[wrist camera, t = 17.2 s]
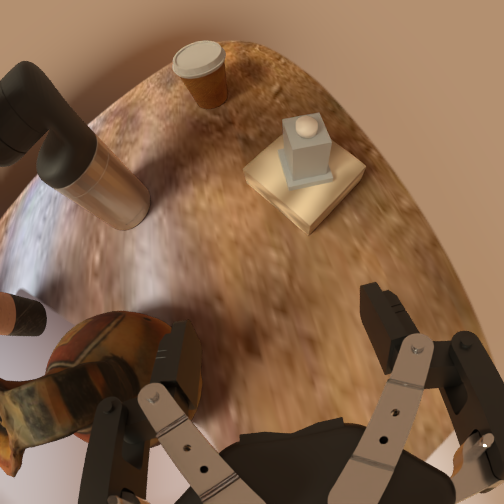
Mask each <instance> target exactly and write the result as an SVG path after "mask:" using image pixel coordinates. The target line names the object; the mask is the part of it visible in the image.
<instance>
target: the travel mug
mask: <svg viewBox="0 0 504 504" xmlns="http://www.w3.org/2000/svg"><path fill="white" fill-rule="evenodd" d="M46 322H47V317H46V311H45V308H44V306H43V305H42V304H41V303H40V302H38V301H35V300H31V299H27V298H23V297H19V296H16V295H12V294H8V293H4V292H0V335H10V336H11V335H12V336H39V335H41V334H42V333H43V331H44V330H45V327H46Z"/></svg>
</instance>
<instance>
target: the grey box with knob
mask: <svg viewBox="0 0 504 504" xmlns="http://www.w3.org/2000/svg"><path fill="white" fill-rule="evenodd" d="M282 126H283V141H284V148H283V149H279V150H278V156H279V159H280V162H281V166H282V169H283V172H284V176H285V179H286V183H287V186H288V190H289V191H292V190H296V189H301V188H305V187H310V186H315V185H320V184H325V183H329V182H332V181H333V176H332V173H331V170H330V168H329V165H328V162H329V156H330V151H331V145H332V141H331V139H330V136H329V134H328V132H327V129H326V127H325V125H324V122H323V120H322V118H321V116H320V113H314V114H308V115H303V116H297V117H292V118H286V119H282Z"/></svg>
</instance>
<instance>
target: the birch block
mask: <svg viewBox="0 0 504 504" xmlns="http://www.w3.org/2000/svg"><path fill="white" fill-rule="evenodd" d="M331 141H332V145H331V151H330V156H329V162H328V165H329V168H330V170H331V173H332V176H333V181H332V182H329V183H325V184H320V185H315V186H310V187H305V188H301V189H296V190H292V191H289V190H288V186H287V183H286V179H285V176H284V172H283V169H282V166H281V162H280V159H279V156H278V150H279V149H283V148H284V141H283V134H282V135H281V136H279V137H278V138H277V139H276V140H275V141H274V142H272V143H271V144H270V145H269V146H268V147H267V148H266V149H264V150H263V151H262V152H261V153H260V154H259V155H258V156H257V157H255V158H254V159H253V160H252V161H251V162H250V163H249V164H248V165H247V166H245V167H244V168H243V172H244V175H245V178H246V182H247V184H249V185H250V186H251V187H252V188H253V189H255V190H256V191H257V192H258V193H259V194H260V195H262V196H263V197H264V198H265V199H266V200H268V201H269V202H270V203H271V204H272V205H273V206H275V207H276V208H277V209H278V210H279V211H280V212H282V213H283V214H284V215H285V216H286V217H287V218H289V219H290V220H291V221H292V222H293V223H294V224H295V225H297V226H298V227H299V228H300V229H301V230H302V231H303V232H304V233H306V234H307V235H308V236H309V235H310V234H311V233H312V232H313V230H314V229H315V228H316V227H317V226H318V225H319V224H320V223H321V222H322V221H323V220H324V219H325V218H326V217H327V216H328V215H329V214H330V212H331V211H332V210H333V209H334V208H335V207H336V206H337V205H338V204H339V203H340V202H341V201H342V200H343V199H344V198H345V196H346V195H347V194H348V193H349V192H350V191H351V190H352V189H353V188H354V187H355V186H356V185H357V183H358V182H359V181H360V180H361V178H362V176H363V173H364V171H365V168H366V165H364V164H363V163H362V162H361V161H359V160H358V159H357V158H355V157H354V156H353V155H352V154H350V153H349V152H348V151H346V150H345V149H344V148H342V147H341V146H339V145H338V144H337V143H335V142H334V141H333V140H331Z"/></svg>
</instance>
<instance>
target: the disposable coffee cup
mask: <svg viewBox="0 0 504 504" xmlns="http://www.w3.org/2000/svg"><path fill="white" fill-rule="evenodd" d="M225 55H226V53H225V50H224V49H223V48H222V47H221V46H220V45H219V44H218V43H216V42H213V41H199V42H195V43H192V44H189V45H187V46H185V47H183V48H182V49H181V50H179V51H178V52H177V53H176V54H175V56H174V58H173V65H172V68H173V71H174V72H175V73H176V74H177V75H178V76H180V78H181V79H182V81H183V82H184V84H185V85H186V87H187V88H188V90H189V91H190V93H191V94H192V96H193V98H194V99H195V101H196V102H197V104H198V105H199V106H200V107H201V108H205V109H211V108H216V107H218V106H220V105H222V104H223V103H224V102H225V101H226V99H227V97H228V93H227V83H226V73H225V64H224V60H225Z"/></svg>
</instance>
